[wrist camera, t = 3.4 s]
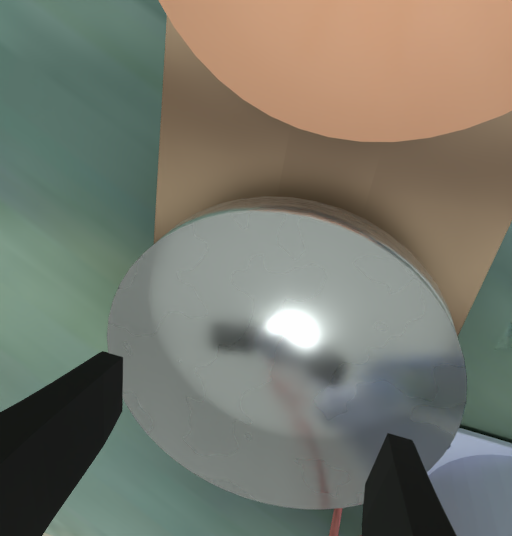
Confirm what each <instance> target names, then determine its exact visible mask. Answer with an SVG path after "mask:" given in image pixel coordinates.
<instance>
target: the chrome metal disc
mask: <svg viewBox="0 0 512 536" xmlns="http://www.w3.org/2000/svg"><path fill="white" fill-rule="evenodd" d="M107 341H108V353H110V354H114V355H117V356H121V357H123V399H124V401H125V403H126V405H127V407H128V408H129V410H130V411H131V413H132V414H133V416H134V418H135V419H136V421H137V422H138V423H139V424H140V426H141V427H142V428H143V429H144V431H145V432H146V433H147V434H148V435H149V436H150V437H151V438H152V440H153V441H154V442H155V443H156V444H157V445H158V446H159V447H160V448H161V449H162V450H164V451H165V452H166V453H167V454H168V455H169V456H171V457H172V458H173V459H174V460H175V461H177V462H178V463H179V464H181V465H182V466H184V467H185V468H186V469H188V470H189V471H191V472H192V473H194V474H196V475H197V476H199V477H201V478H202V479H204V480H206V481H207V482H209V483H212V484H214V485H216V486H218V487H220V488H222V489H224V490H226V491H229V492H231V493H234V494H237V495H239V496H242V497H244V498H248V499H251V500H255V501H258V502H262V503H266V504H271V505H276V506H281V507H288V508H297V509H320V510H323V509H337V508H346V507H351V506H357V505H362V504H363V503H364V491H365V483H366V481H367V479H368V476H369V474H370V472H371V470H372V467H373V465H374V463H375V460H376V458H377V456H378V454H379V451H380V449H381V447H382V445H383V442H384V440H385V438H386V436H387V433H389V434H393V435H396V436H400V437H403V438H407V439H410V440H412V441H413V442H414V444H415V446H416V449H417V451H418V453H419V456H420V458H421V460H422V463H423V465H424V467H425V470H426V472H428V471H429V470H430V469H431V468H432V467H433V466H434V465H435V464H436V463H437V462H438V461H439V459H440V458H441V457H442V456H443V455H444V453H445V452H446V450H447V449H448V447H449V446H450V444H451V443H452V441H453V440H454V438H455V435H456V433H457V431H458V428H459V426H460V424H461V421H462V417H463V413H464V408H465V404H466V392H467V376H466V369H465V362H464V356H463V353H462V350H461V347H460V343H459V340H458V337H457V333H456V330H455V327H454V324H453V321H452V317H451V314H450V311H449V308H448V305H447V303H446V301H445V299H444V297H443V295H442V293H441V291H440V289H439V287H438V286H437V284H436V283H435V281H434V280H433V279H432V277H431V276H430V274H429V273H428V271H427V270H426V269H425V267H424V266H423V265H422V264H421V263H420V262H419V261H418V260H417V259H416V258H415V257H414V256H413V254H412V253H411V252H410V251H409V250H408V249H407V248H405V247H404V246H403V245H402V244H400V243H399V242H398V241H397V240H396V239H394V238H393V237H392V236H391V235H389V234H388V233H387V232H385V231H383V230H382V229H380V228H378V227H377V226H375V225H373V224H372V223H370V222H369V221H367V220H365V219H363V218H361V217H358V216H356V215H354V214H352V213H349V212H347V211H345V210H343V209H340V208H337V207H333V206H330V205H327V204H323V203H320V202H317V201H311V200H305V199H299V198H293V197H273V196H263V197H253V198H242V199H238V200H233V201H229V202H225V203H221V204H218V205H215V206H213V207H210V208H207V209H205V210H202V211H200V212H198V213H196V214H194V215H193V216H191V217H189V218H187V219H186V220H184V221H182V222H181V223H179V224H178V225H177V226H175V227H174V228H173V229H172V230H170V231H169V232H168V233H167V234H165V235H164V236H163V237H162V238H161V239H160V240H158V241H157V242H156V243H155V244H154V245H152V246H151V247H150V248H149V249H148V250H146V251H145V252H144V253H143V254H142V255H141V256H140V257H139V259H138V260H137V261H136V262H135V263H134V264H133V265H132V266H131V267H130V269H129V270H128V272H127V274H126V275H125V277H124V278H123V280H122V281H121V283H120V285H119V287H118V290H117V292H116V294H115V297H114V299H113V302H112V306H111V310H110V314H109V319H108V331H107Z"/></svg>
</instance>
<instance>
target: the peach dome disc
mask: <svg viewBox="0 0 512 536" xmlns="http://www.w3.org/2000/svg"><path fill="white" fill-rule="evenodd" d="M159 2H160V4H161V5H162V7H163V9H164V11H165V12H166V14H167V16H168V17H169V19H170V21H171V23H172V24H173V26H174V28H175V29H176V30H177V32H178V33H179V34H180V36H181V37H182V38H183V40H184V41H185V42H186V44H187V45H188V46H189V48H190V49H191V50H192V52H193V53H194V54H195V56H196V57H197V58H198V59H199V60H200V61H201V62H202V63H203V64H204V65H205V66H206V67H207V68H208V69H209V70H210V71H211V72H212V74H213V75H214V76H215V77H216V78H217V79H218V80H219V81H221V82H222V83H223V84H224V85H226V86H227V87H228V88H229V89H231V90H232V91H233V92H234V93H236V94H237V95H238V96H239V97H240V98H242V99H243V100H245V101H246V102H248V103H249V104H251V105H253V106H254V107H256V108H258V109H259V110H261V111H263V112H264V113H266V114H267V115H269V116H271V117H273V118H276V119H278V120H280V121H282V122H285V123H287V124H289V125H291V126H294V127H296V128H298V129H302V130H305V131H309V132H312V133H316V134H319V135H323V136H326V137H331V138H338V139H345V140H352V141H359V142H399V141H408V140H416V139H424V138H431V137H435V136H439V135H443V134H447V133H451V132H455V131H460V130H464V129H467V128H470V127H472V126H475V125H478V124H480V123H483V122H486V121H489V120H491V119H494V118H497V117H499V116H502V115H504V114H506V113H508V112H510V111H512V0H159Z"/></svg>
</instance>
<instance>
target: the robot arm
mask: <svg viewBox="0 0 512 536" xmlns="http://www.w3.org/2000/svg"><path fill="white" fill-rule="evenodd" d="M122 397H123V357H121V356H117V355H114V354H110V353H107V352H103V351H102V352H100V353H99V354H97V355H95V356H94V357H92V358H91V359H89V360H87V361H86V362H84V363H83V364H81V365H79V366H78V367H76V368H75V369H73V370H71V371H70V372H68V373H67V374H65V375H63V376H62V377H60V378H59V379H57V380H55V381H54V382H52V383H51V384H49V385H47V386H45V387H44V388H42V389H40V390H39V391H37V392H35V393H34V394H32V395H30V396H29V397H27V398H25V399H24V400H22V401H20V402H18V403H16V404H15V405H13V406H11V407H9V408H7V409H6V410H4V411H2V412H0V536H42V535H43V533H44V532H45V530H46V529H47V527H48V526H49V524H50V522H51V521H52V520H53V518H54V517H55V515H56V514H57V512H58V511H59V509H60V508H61V507H62V505H63V504H64V502H65V501H66V499H67V498H68V497H69V495H70V494H71V492H72V491H73V489H74V488H75V487H76V485H77V484H78V482H79V481H80V479H81V478H82V476H83V475H84V474H85V472H86V471H87V469H88V468H89V466H90V465H91V463H92V462H93V461H94V459H95V458H96V456H97V455H98V453H99V452H100V450H101V449H102V447H103V446H104V444H105V442H106V441H107V439H108V437H109V435H110V433H111V431H112V430H113V428H114V426H115V424H116V422H117V420H118V418H119V416H120V414H121V412H122ZM362 536H512V443H509V442H506V441H503V440H499V439H496V438H492V437H489V436H486V435H482V434H479V433H475V432H472V431H469V430H465V429H462V428H458V431H457V433H456V435H455V438H454V440H453V441H452V443H451V444H450V446H449V447H448V449H447V450H446V452H445V453H444V455H443V456H442V457H441V458H440V459H439V461H438V462H437V463H436V464H435V465H434V466H433V467H432V468H431V469H430V470H429V471H428V472H426V470H425V467H424V465H423V463H422V460H421V458H420V456H419V453H418V451H417V449H416V446H415V444H414V442H413V441H412V440H410V439H407V438H403V437H400V436H396V435H393V434H389V433H387V436H386V438H385V440H384V442H383V445H382V447H381V449H380V451H379V454H378V456H377V458H376V460H375V463H374V465H373V467H372V470H371V472H370V474H369V476H368V479H367V481H366V483H365V491H364V503H363V518H362Z"/></svg>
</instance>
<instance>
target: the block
mask: <svg viewBox="0 0 512 536" xmlns="http://www.w3.org/2000/svg"><path fill="white" fill-rule="evenodd" d="M263 196H273V197H293V198H299V199H305V200H311V201H317V202H320V203H323V204H327V205H330V206H333V207H337V208H340V209H343V210H345V211H347V212H349V213H352V214H354V215H356V216H358V217H361V218H363V219H365V220H367V221H369V222H370V223H372V224H373V225H375V226H377V227H378V228H380V229H382V230H383V231H385V232H387V233H388V234H389V235H391V236H392V237H393V238H394V239H396V240H397V241H398V242H399V243H400V244H402V245H403V246H404V247H405V248H407V249H408V250H409V251H410V252H411V253H412V254H413V256H414V257H415V258H416V259H417V260H418V261H419V262H420V263H421V264H422V265H423V266H424V267H425V269H426V270H427V271H428V273H429V274H430V276H431V277H432V279H433V280H434V281H435V283H436V284H437V286H438V287H439V289H440V291H441V293H442V295H443V297H444V299H445V301H446V303H447V305H448V308H449V311H450V314H451V317H452V321H453V324H454V327H455V330H456V333H457V337H458V334H459V332H460V330H461V328H462V326H463V324H464V322H465V319H466V317H467V315H468V313H469V311H470V309H471V307H472V305H473V302H474V300H475V298H476V296H477V294H478V292H479V290H480V288H481V285H482V283H483V281H484V279H485V277H486V275H487V273H488V270H489V268H490V266H491V264H492V262H493V260H494V258H495V256H496V253H497V251H498V249H499V247H500V245H501V243H502V241H503V238H504V236H505V234H506V232H507V230H508V228H509V226H510V224H511V221H512V111H510V112H508V113H506V114H504V115H502V116H499V117H497V118H494V119H491V120H489V121H486V122H483V123H480V124H478V125H475V126H472V127H470V128H467V129H464V130H460V131H455V132H451V133H447V134H443V135H439V136H435V137H431V138H424V139H416V140H408V141H399V142H359V141H352V140H345V139H338V138H331V137H326V136H323V135H319V134H316V133H312V132H309V131H305V130H302V129H298V128H296V127H294V126H291V125H289V124H287V123H285V122H282V121H280V120H278V119H276V118H273V117H271V116H269V115H267V114H266V113H264V112H263V111H261V110H259V109H258V108H256V107H254V106H253V105H251V104H249V103H248V102H246V101H245V100H243V99H242V98H240V97H239V96H238V95H237V94H236V93H234V92H233V91H232V90H231V89H229V88H228V87H227V86H226V85H224V84H223V83H222V82H221V81H219V80H218V79H217V78H216V77H215V76H214V75H213V74H212V72H211V71H210V70H209V69H208V68H207V67H206V66H205V65H204V64H203V63H202V62H201V61H200V60H199V59H198V58H197V57H196V56H195V54H194V53H193V52H192V50H191V49H190V48H189V46H188V45H187V44H186V42H185V41H184V40H183V38H182V37H181V36H180V34H179V33H178V32H177V30H176V29H175V28H174V26H173V24H172V23H171V21H170V19H169V17H168V16H167V24H166V41H165V59H164V76H163V93H162V110H161V128H160V145H159V162H158V179H157V196H156V214H155V231H154V244H155V243H156V242H157V241H158V240H160V239H161V238H162V237H163V236H164V235H165V234H167V233H168V232H169V231H170V230H172V229H173V228H174V227H175V226H177V225H178V224H179V223H181V222H182V221H184V220H186V219H187V218H189V217H191V216H193V215H194V214H196V213H198V212H200V211H202V210H205V209H207V208H210V207H213V206H215V205H218V204H221V203H225V202H229V201H233V200H238V199H242V198H253V197H263Z"/></svg>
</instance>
